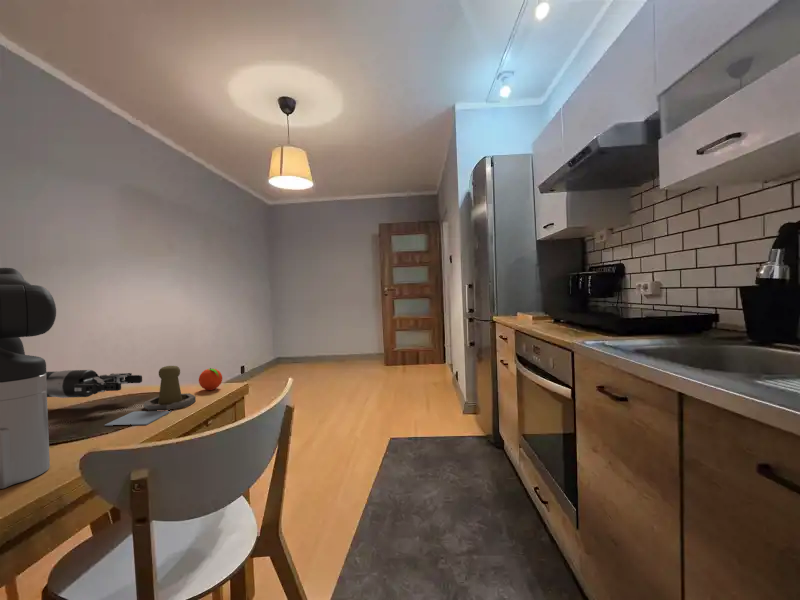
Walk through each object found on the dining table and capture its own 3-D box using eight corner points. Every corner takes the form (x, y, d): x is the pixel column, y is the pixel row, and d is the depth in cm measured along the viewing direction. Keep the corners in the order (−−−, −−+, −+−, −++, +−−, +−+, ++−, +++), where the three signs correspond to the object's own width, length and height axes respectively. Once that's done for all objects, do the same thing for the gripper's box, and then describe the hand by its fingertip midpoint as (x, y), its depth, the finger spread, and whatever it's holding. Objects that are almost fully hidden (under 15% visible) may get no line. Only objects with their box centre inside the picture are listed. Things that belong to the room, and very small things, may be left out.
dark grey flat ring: (179, 410, 100) (179, 404, 100) (135, 411, 100) (135, 405, 100) (201, 398, 112) (201, 393, 112) (162, 399, 112) (162, 394, 112)
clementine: (229, 388, 123) (228, 367, 123) (208, 394, 117) (208, 371, 117) (214, 386, 127) (214, 365, 127) (194, 390, 121) (193, 368, 121)
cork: (187, 401, 109) (186, 364, 109) (172, 408, 103) (171, 368, 103) (168, 401, 109) (167, 364, 109) (152, 408, 103) (151, 368, 103)
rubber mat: (146, 425, 90) (146, 423, 90) (104, 426, 89) (104, 424, 89) (171, 411, 100) (171, 410, 100) (133, 412, 99) (133, 411, 99)
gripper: (49, 376, 98) (112, 374, 99) (92, 365, 112) (147, 364, 113) (50, 404, 98) (113, 403, 99) (93, 390, 113) (148, 389, 113)
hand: (131, 382), depth 106 cm, fingers open, 8 cm apart
